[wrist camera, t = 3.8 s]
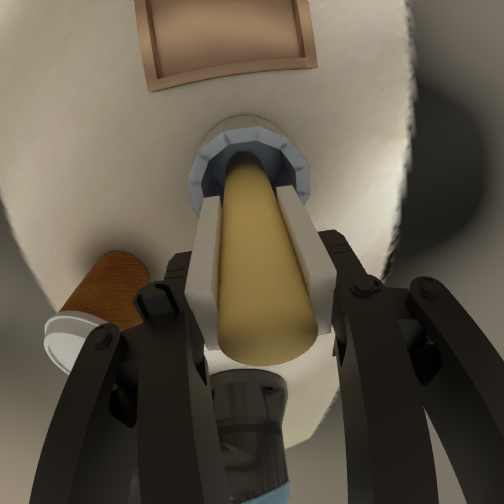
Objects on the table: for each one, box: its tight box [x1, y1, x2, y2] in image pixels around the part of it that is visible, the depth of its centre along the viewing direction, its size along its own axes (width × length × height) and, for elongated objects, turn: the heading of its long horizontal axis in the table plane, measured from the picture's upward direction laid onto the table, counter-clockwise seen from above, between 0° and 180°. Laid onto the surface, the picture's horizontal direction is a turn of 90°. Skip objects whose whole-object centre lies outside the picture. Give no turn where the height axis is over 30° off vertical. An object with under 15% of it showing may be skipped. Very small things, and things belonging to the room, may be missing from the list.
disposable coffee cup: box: [44, 251, 150, 374], centre depth 23 cm, size 10×10×12 cm
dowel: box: [217, 152, 318, 366], centre depth 14 cm, size 3×3×15 cm
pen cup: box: [187, 115, 310, 216], centre depth 19 cm, size 7×7×7 cm
